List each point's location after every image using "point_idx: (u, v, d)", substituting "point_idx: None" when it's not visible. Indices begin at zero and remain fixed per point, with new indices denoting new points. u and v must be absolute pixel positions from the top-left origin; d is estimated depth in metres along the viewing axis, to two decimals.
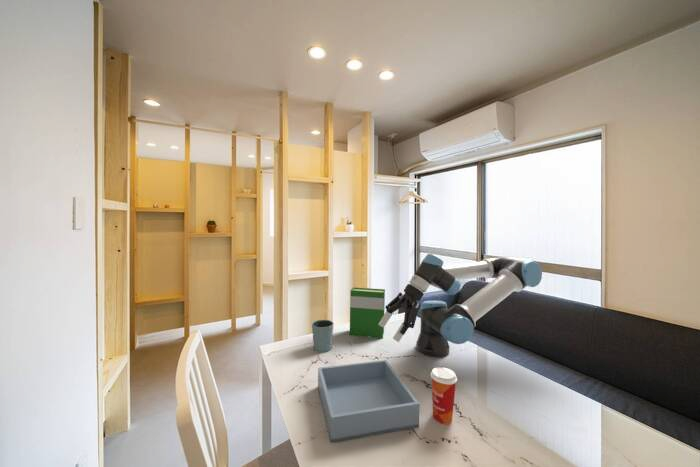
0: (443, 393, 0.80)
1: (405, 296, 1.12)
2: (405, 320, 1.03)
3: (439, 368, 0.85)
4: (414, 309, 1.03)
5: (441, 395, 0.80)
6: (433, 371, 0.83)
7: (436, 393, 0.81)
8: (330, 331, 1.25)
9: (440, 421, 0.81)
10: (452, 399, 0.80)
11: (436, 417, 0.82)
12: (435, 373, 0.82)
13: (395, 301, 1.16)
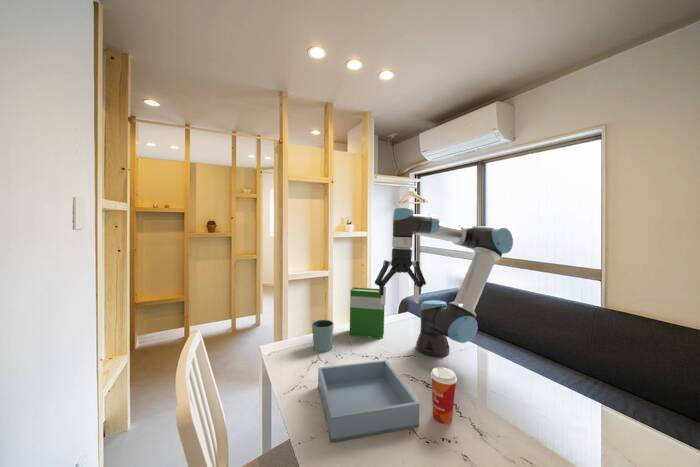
0: (443, 393, 0.80)
1: (398, 262, 1.03)
2: (418, 282, 1.05)
3: (439, 368, 0.85)
4: None
5: (441, 395, 0.80)
6: (433, 371, 0.83)
7: (436, 393, 0.81)
8: (330, 331, 1.25)
9: (440, 421, 0.81)
10: (452, 399, 0.80)
11: (436, 417, 0.82)
12: (435, 373, 0.82)
13: None
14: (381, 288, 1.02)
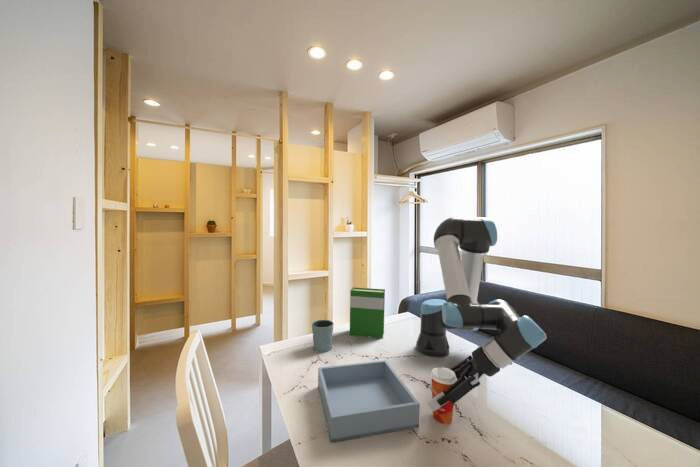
0: None
1: None
2: None
3: (439, 368, 0.85)
4: None
5: None
6: (433, 371, 0.83)
7: (436, 393, 0.81)
8: (330, 331, 1.25)
9: (440, 421, 0.81)
10: None
11: (436, 417, 0.82)
12: (435, 373, 0.82)
13: None
14: None
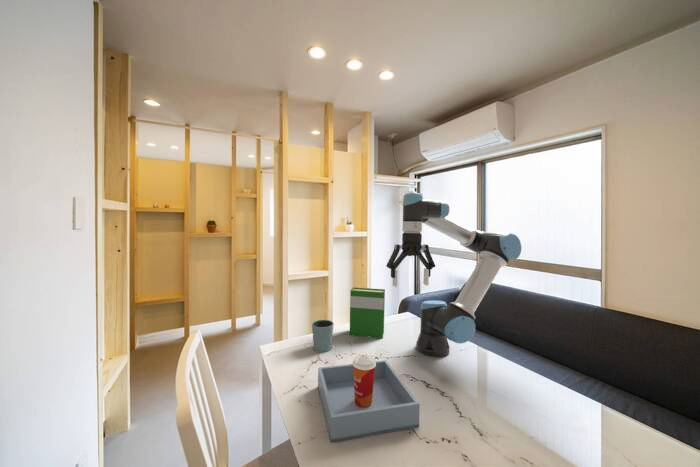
0: (361, 379, 0.85)
1: (409, 245, 1.07)
2: (428, 265, 1.09)
3: (362, 356, 0.90)
4: None
5: (359, 380, 0.85)
6: (355, 358, 0.88)
7: (356, 379, 0.86)
8: (330, 331, 1.25)
9: (359, 405, 0.86)
10: (370, 384, 0.85)
11: (355, 401, 0.87)
12: (356, 360, 0.87)
13: None
14: (393, 271, 1.06)
